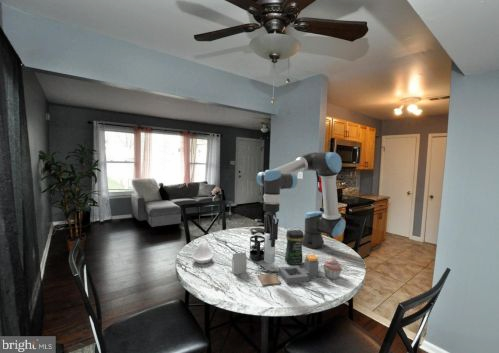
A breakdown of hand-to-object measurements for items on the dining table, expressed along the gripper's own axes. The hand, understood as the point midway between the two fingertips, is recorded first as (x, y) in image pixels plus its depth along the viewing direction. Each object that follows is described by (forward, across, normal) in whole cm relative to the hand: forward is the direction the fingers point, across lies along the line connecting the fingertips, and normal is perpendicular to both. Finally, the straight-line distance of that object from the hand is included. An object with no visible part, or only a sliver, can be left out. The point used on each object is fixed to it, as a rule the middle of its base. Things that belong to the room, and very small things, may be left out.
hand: (269, 250), depth 111 cm
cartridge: (+5, 0, 0) cm, 5 cm away
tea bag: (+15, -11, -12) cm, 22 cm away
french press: (+15, -26, +2) cm, 30 cm away
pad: (+15, 0, 0) cm, 15 cm away
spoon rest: (+15, -33, -30) cm, 47 cm away
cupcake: (+15, +3, +33) cm, 36 cm away
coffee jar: (+15, -16, +21) cm, 30 cm away
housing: (+15, 0, +16) cm, 22 cm away
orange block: (+11, 0, +23) cm, 25 cm away
